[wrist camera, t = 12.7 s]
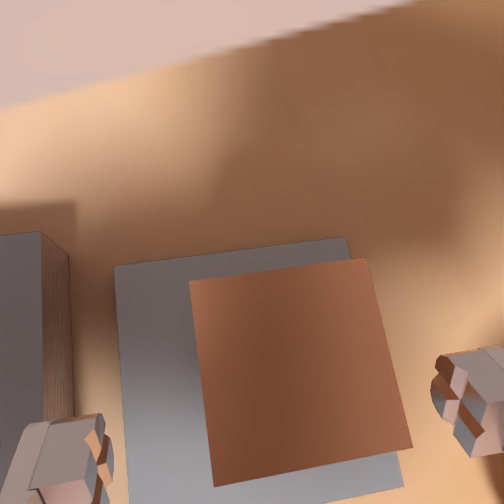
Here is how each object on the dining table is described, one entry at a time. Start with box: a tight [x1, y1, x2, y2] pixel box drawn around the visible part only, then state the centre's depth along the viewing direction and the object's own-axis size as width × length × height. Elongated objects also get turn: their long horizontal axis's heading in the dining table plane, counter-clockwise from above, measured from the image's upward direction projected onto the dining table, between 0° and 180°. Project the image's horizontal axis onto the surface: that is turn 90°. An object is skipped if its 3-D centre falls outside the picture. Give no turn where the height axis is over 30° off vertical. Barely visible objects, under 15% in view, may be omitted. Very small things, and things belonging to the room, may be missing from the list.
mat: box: [113, 237, 404, 504], centre depth 17 cm, size 10×10×1 cm
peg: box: [189, 257, 413, 487], centre depth 12 cm, size 4×4×9 cm
